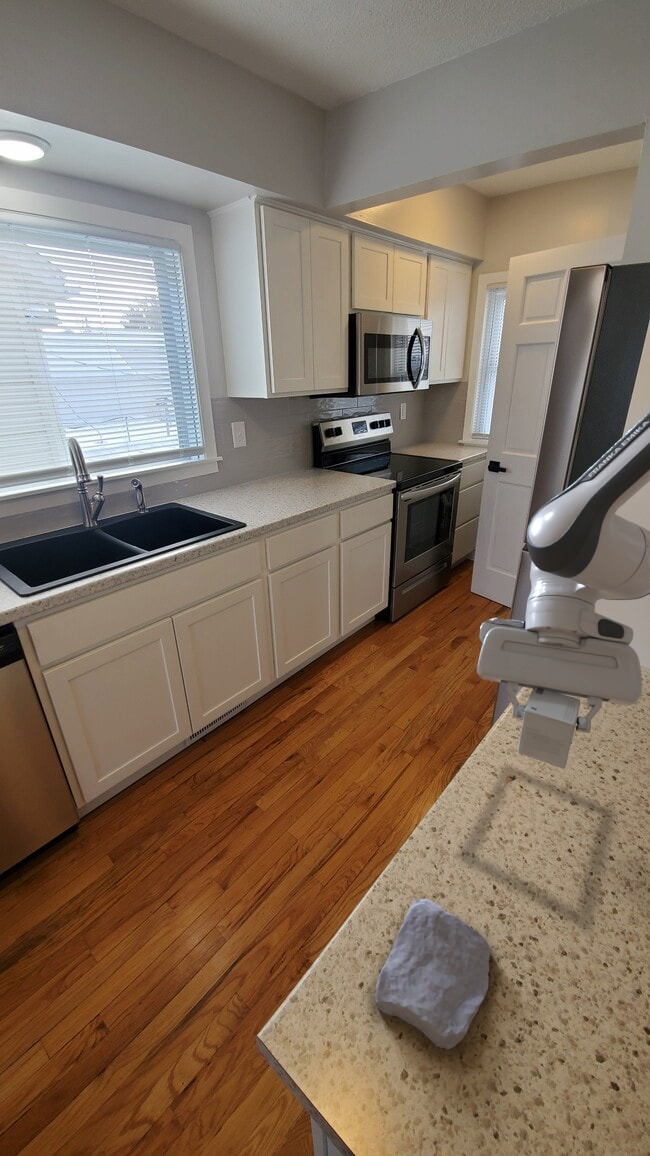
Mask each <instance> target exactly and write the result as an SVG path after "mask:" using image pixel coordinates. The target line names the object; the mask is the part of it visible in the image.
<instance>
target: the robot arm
mask: <svg viewBox="0 0 650 1156" xmlns="http://www.w3.org/2000/svg"><path fill="white" fill-rule="evenodd" d="M649 482H650V411H648V412H647V413H646V414H645V415H644V416H643V417H642V418H641V419H640V420H639V421H637V423H636V424H635V425H633V427H631V428H630V429H629V430H628V431H627V432H626V433H625V434H624V435H623V436H622V437H620V439H619V440H618V441H616V442H615V444H613V445H612V446H611V447H610V448H609V449H608V450H607V451H606V452H605V453H604V454H603V455H602V456H601V457H600V458H599V459H597V461H595V463H593V464H592V466H590V467H589V468H588V469H587V470H586V471H585V472H584V473H583V474H582V475H581V476H580V477H579V478H578V479H576V481H574V482H573V483H572V484H571V485H569V486H568V487H567V488H566V489H564V490H563V491H562V492H560V493H558V494H557V495H556V496H554V497H553V498H551V499H550V500H549V501H547V502H546V503H544V504H543V505H542V506H541V507H540V508H539V509H538V510H537V511H536V512H535V514H534V515H533V516H532V517H531V520H530V522H529V524H528V526H527V530H526V546H527V550H528V554H529V558H530V559H531V563H530V570H529V580H530V584H531V587H530V588H531V590H530V593H529V595H528V597H527V601H526V607H525V618H524V620H517V619H508V618H507V619H506V618H502V617H492V618H490V619H487V620H485V621H483V622H482V623H481V625H480V627H479V634H478V640H479V643H480V644H481V649H480V651H479V656H478V660H477V666H476V673H477V676H479V678H480V679H481V680H483V681H488V682H494V683H499V684H504V685H506V688H505V689H506V690H505V692H506V695H507V697H508V699H509V701H510V703H511V705H512V713H511V719H516V720H519V721H520V720H521V721H523V717H524V711H525V707H526V705H524V704H520V703H519V701H518V698H517V696H516V694H517V693H518V690H519V687H520V688H526V689H532V690H533V688H534V687H538V688H541V689H545V690H548V691H552V692H555V693H559V694H563V695H567V696H570V697H575V698H582V699H586V707H587V708H590V709H589V710H588V711H587V713H586V714H585V716H580V715H578V717H577V722H576V726H575V732H580V733H584V734H590V733H591V729H592V719H594V717H595V716H596V715H597V713H598V712H599V711H600V710H601V708H602V707H603V702H604V703H608V704H615V705H620V706H628V707H629V706H632V705H634V704H636V703H637V702H638V701H639V700H640V699H641V698H642V695H643V680H642V679H643V678H642V670H641V668H642V667H641V662H640V658H639V655H638V653H637V651H636V650H635V649H634V648H633V647H632V646H631V645H630V644H631V643H632V641H633V640H634V630H633V628H632V627H631V626H629V625H627V624H624V623H622V622H619V621H617V620H614V619H611V618H610V617H607V616H605V615H602V614H599V613H597V612H596V603H597V602H598V601H599V600H608V601H629V600H631V601H633V600H638V599H642V598H644V597H646V596H649V595H650V530H648V529H646V528H644V527H643V526H641V525H639V524H637V523H635V522H633V521H630V520H628V519H626V518H624V517H622V516H620V515H618V514H616V513H617V511H618V510H619V509H620V508H621V507H622V506H623V505H624V504H626V502H627V501H629V500H630V499H631V498H632V497H633V496H635V495H636V494H637V493H638V492H639V491H640V490H641V489H643V488H644V487H645V486H646V485H647V484H648V483H649Z"/></svg>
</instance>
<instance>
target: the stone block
mask: <svg viewBox="0 0 650 1156" xmlns="http://www.w3.org/2000/svg"><path fill="white" fill-rule="evenodd" d="M393 944H394V945H393V946H392V949H391V951H390V953H389V955H388V957H387V959H386V962H385V964H384V965H383V967H382V968H381V970H380V972H379V975H378V978H377V981H376V986H375V996H374V1001H375V1005H376V1008H377V1009H378V1010H379V1011H380V1012H382V1013H383V1014H386V1015H388V1016H391V1017H392V1016H393V1017H398V1018H399V1019H400V1020H402V1021H404V1022H406V1023H407V1024H409V1025H411V1026H413V1027H414V1028H415V1029H417V1030H419V1031H420V1032H421V1033H423V1035H425V1037H427V1038H428V1040H430V1041H431V1042H432V1043H433V1044H434V1045H435V1046H436V1047H438V1048H442V1049H446V1050H451V1049H454V1048H455V1047H456V1046H457V1045H458V1044H459V1043H460V1042H461V1041H462V1040H463V1039H464V1038H465V1036H466V1034H467V1033H468V1031H469V1029H470V1025H471V1023H472V1022H473V1020H474V1017H475V1016H476V1015H477V1014H478V1012H479V1009H480V1006H481V1005H482V1003H483V1002H484V999H485V998H486V995H487V992H488V991H489V976H490V975H489V972H490V955H491V947H490V945H489V943H488V942H487V941H486V939H485V938H484V937H483V935H482V934H480V933H479V932H478V931H477V930H475V929H474V928H472V927H471V926H469V925H468V924H467V923H465V922H464V921H463V920H461V918H458V917H457V916H456V915H453V914H451V913H450V912H447V911H446V909H444V908H443V907H442V906H440V905H439V904H438V903H436V902H434V901H433V900H430V899H428V898H422V899H421V898H420V899H416V900H413V901H412V903H411V905H410V906H409V908H408V910H407V911H406V914H405V917H404V919H403V922H402V924H401V926H400V927H399V931H398V933H397V936H396V939H395V942H394V943H393Z"/></svg>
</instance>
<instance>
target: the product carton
mask: <svg viewBox="0 0 650 1156" xmlns="http://www.w3.org/2000/svg"><path fill="white" fill-rule="evenodd" d="M580 706H581V699H579V698H578V697H575V696H570V695H565V694H559V693H555V692H552V691H548V690H545V689H541V688H538V687H534V688H533V689H532V691H531V692H530V695H529V697H528V700H527V702H526V705H525V711H524V717H523V720H522V724H521V728H520V729H521V730H520V735H519V741H518V748H517V753H518V754H521V755H523V756H526V757H527V758H532V759H535V760H537V761H540V762H543V763H546V764H549V765H552V766H554V767H557V768H560V769H566V767H567V762H568V758H569V753H570V749H571V745H572V742H573V737H574V734H575V733H574V732H575V731H576V725H577V723H576V722H577V717H578V716H579V711H580Z"/></svg>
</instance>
